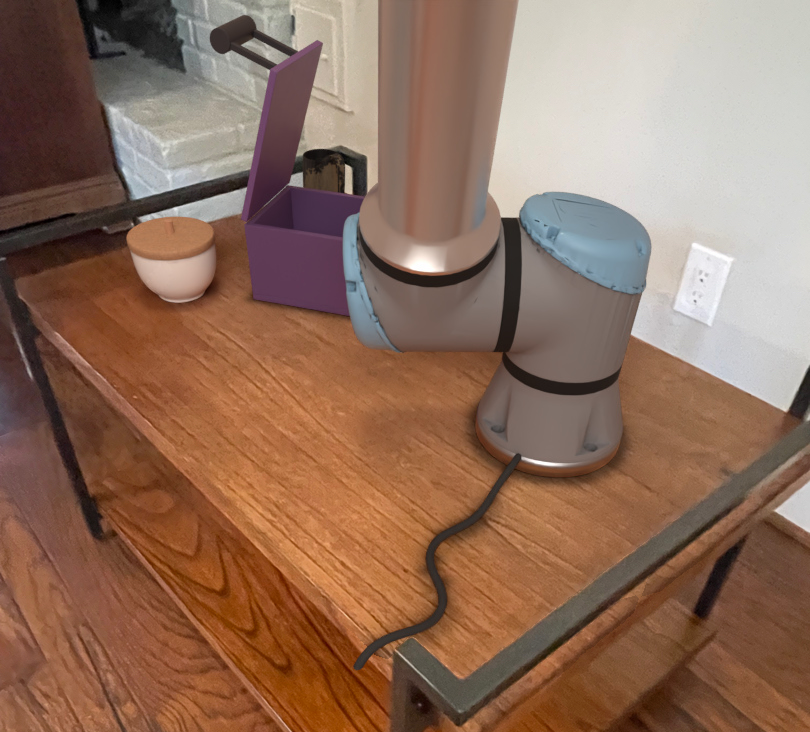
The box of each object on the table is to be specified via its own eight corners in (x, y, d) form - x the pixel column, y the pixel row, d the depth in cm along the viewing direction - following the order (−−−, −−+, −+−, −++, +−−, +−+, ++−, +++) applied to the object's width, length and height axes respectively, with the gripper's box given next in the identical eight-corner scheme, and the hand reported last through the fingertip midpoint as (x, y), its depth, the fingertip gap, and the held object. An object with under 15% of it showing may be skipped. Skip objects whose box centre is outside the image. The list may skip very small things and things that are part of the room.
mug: (298, 230, 114) (292, 145, 105) (328, 221, 116) (324, 137, 108) (328, 249, 110) (324, 162, 101) (358, 239, 112) (357, 154, 104)
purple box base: (403, 273, 105) (405, 202, 98) (373, 320, 96) (373, 245, 89) (293, 255, 108) (287, 184, 101) (253, 299, 99) (244, 224, 92)
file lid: (323, 42, 88) (251, 5, 87) (277, 72, 79) (196, 30, 78) (289, 182, 101) (227, 150, 100) (246, 222, 91) (177, 187, 91)
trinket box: (214, 313, 96) (202, 240, 89) (130, 310, 96) (111, 237, 89) (229, 274, 103) (219, 204, 97) (151, 271, 103) (136, 201, 97)
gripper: (446, -306, 56) (431, 29, 71) (500, -283, 74) (479, -16, 89) (351, -308, 58) (356, 22, 73) (425, -285, 75) (417, -21, 90)
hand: (423, 2), depth 81 cm, fingers open, 13 cm apart
